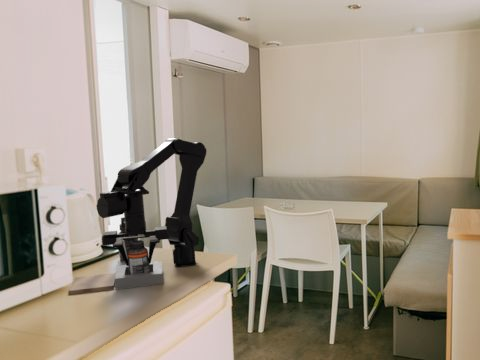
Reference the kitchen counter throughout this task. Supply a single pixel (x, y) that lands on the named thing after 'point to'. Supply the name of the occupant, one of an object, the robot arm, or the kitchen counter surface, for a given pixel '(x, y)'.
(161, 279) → the block
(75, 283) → the walnut board
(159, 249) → the kitchen counter surface
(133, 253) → the supplement bottle
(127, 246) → the supplement bottle
